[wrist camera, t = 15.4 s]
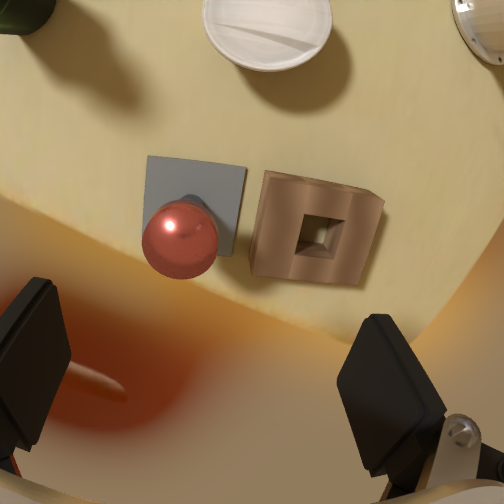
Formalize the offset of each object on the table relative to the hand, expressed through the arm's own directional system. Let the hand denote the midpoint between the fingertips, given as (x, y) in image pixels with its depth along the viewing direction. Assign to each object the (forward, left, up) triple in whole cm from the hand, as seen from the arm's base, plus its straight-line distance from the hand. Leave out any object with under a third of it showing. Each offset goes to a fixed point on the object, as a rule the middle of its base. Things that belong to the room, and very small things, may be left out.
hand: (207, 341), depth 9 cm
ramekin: (-2, -16, -25) cm, 30 cm away
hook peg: (+2, +4, -25) cm, 25 cm away
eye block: (-11, +4, -25) cm, 28 cm away
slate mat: (+2, +4, -25) cm, 25 cm away
